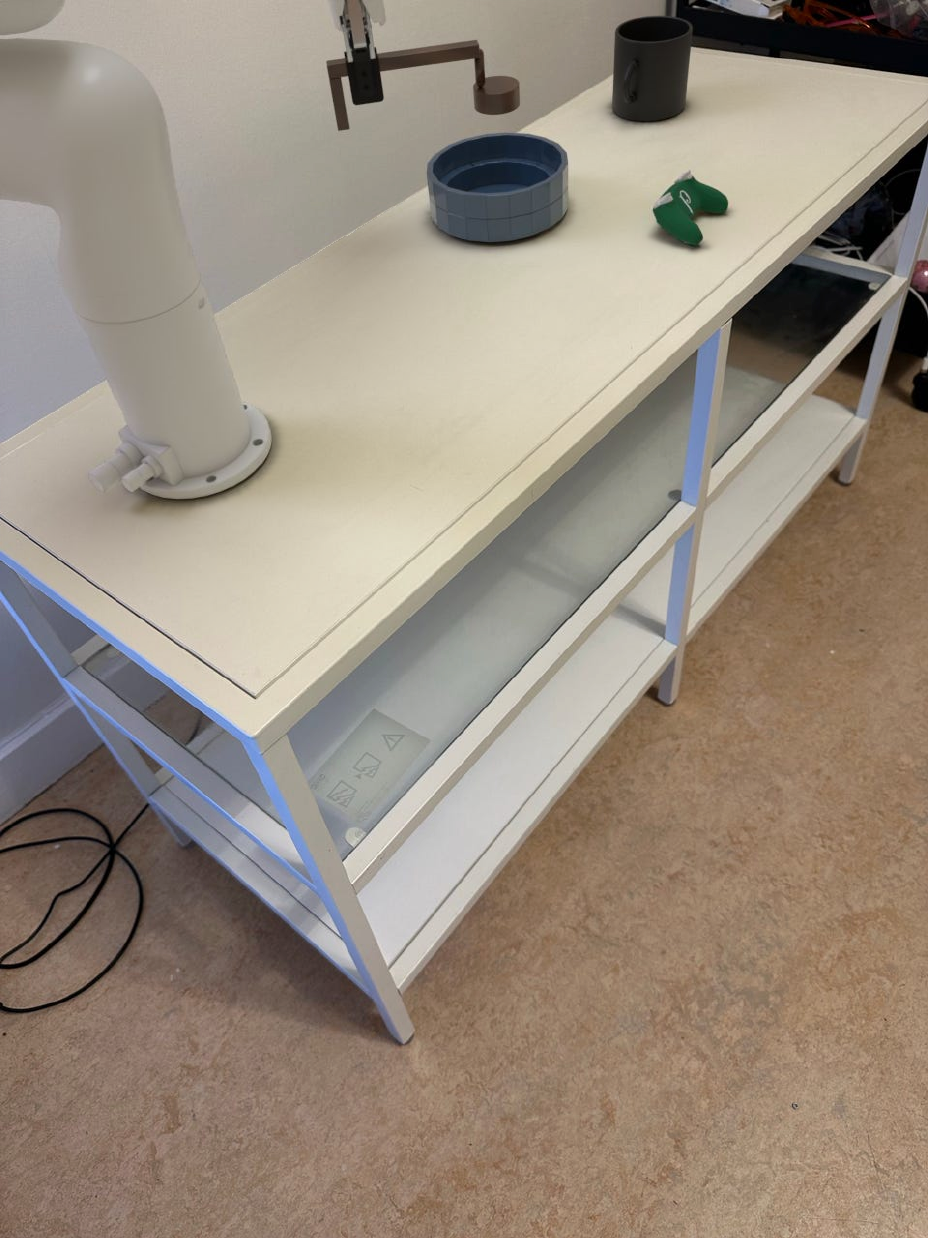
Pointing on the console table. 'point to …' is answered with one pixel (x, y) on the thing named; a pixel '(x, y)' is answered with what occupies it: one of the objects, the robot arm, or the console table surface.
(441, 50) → the brown long handled part
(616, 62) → the mug
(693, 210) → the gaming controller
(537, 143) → the bowl
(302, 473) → the console table surface
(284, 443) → the console table surface
